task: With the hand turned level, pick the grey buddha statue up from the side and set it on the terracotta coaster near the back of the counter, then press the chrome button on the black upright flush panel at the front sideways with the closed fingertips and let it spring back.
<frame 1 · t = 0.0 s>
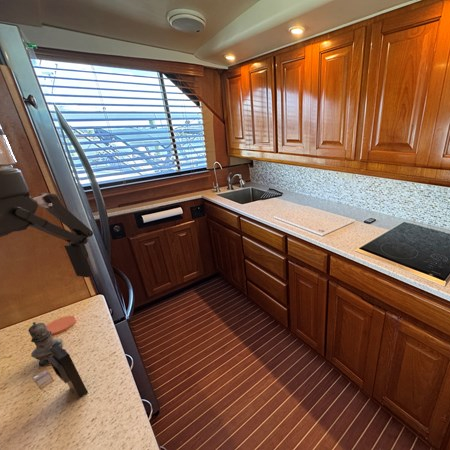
hand: (41, 297, 40), 29 cm above the countertop, tool pointing down, fingers open, 13 cm apart
flush button: (43, 379, 49), point 8 cm above the countertop, slide at 0.1 cm
coaster: (60, 325, 73), on the countertop
grey buddha statue: (53, 358, 63), on the countertop
flush panel: (74, 393, 54), on the countertop
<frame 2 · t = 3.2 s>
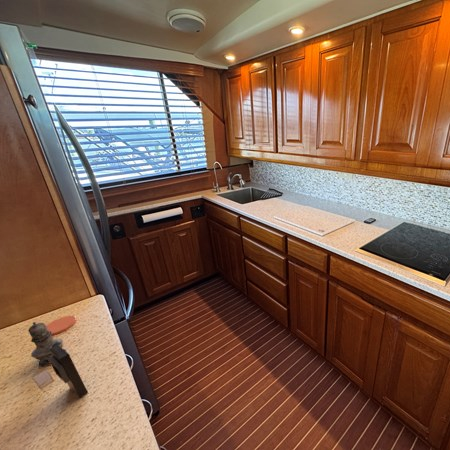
nothing on the countertop moved.
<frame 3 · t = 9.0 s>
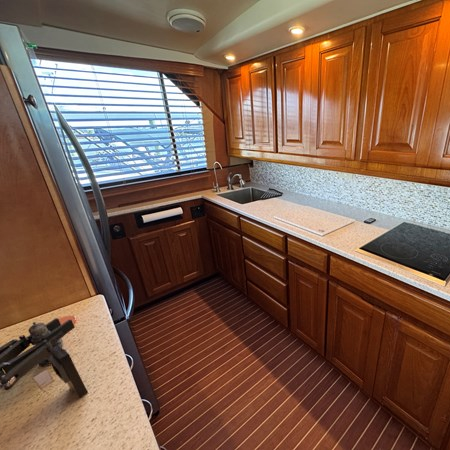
hand: (65, 322, 65), 7 cm above the countertop, tool horizontal, fingers closed on grey buddha statue, 4 cm apart
grey buddha statue: (53, 358, 63), on the countertop, touching gripper
everything else where it was.
when the fingers open (7 cm above the countertop, at t = 15.9 s): grey buddha statue stays where it is, resting on coaster.
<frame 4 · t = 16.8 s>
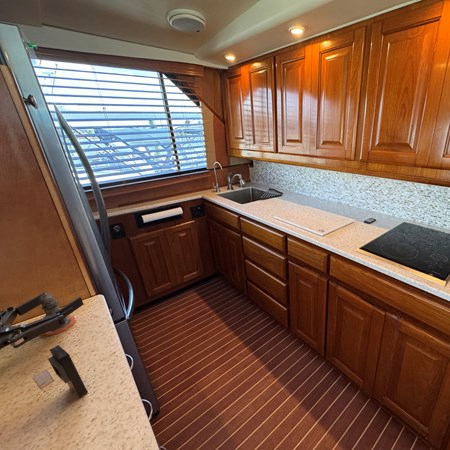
hand: (62, 298, 74), 8 cm above the countertop, tool horizontal, fingers open, 13 cm apart
grey buddha statue: (59, 325, 73), resting on coaster
everything else where it was.
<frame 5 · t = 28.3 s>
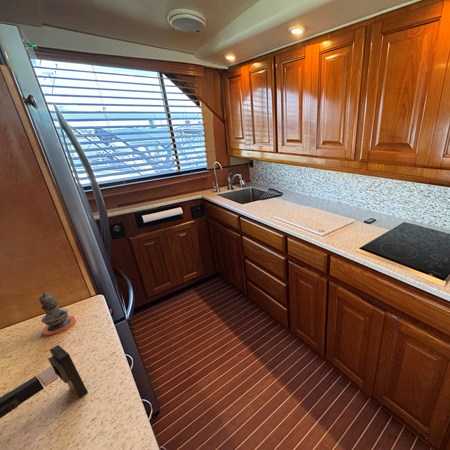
hand: (39, 382, 48), 8 cm above the countertop, tool horizontal, fingers closed
flush button: (47, 376, 49), point 8 cm above the countertop, slide at -0.6 cm, touching gripper
everything else where it was.
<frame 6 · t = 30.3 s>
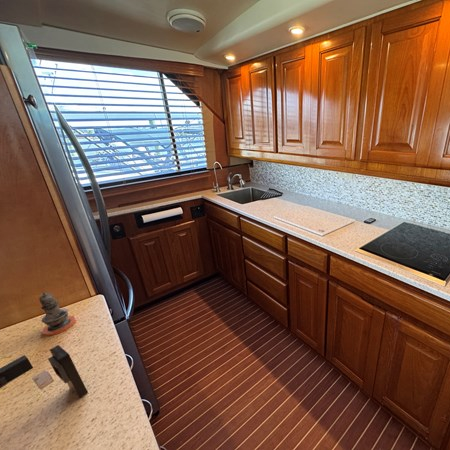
hand: (28, 361, 46), 14 cm above the countertop, tool horizontal, fingers closed
flush button: (43, 379, 49), point 8 cm above the countertop, slide at 0.1 cm
everything else where it was.
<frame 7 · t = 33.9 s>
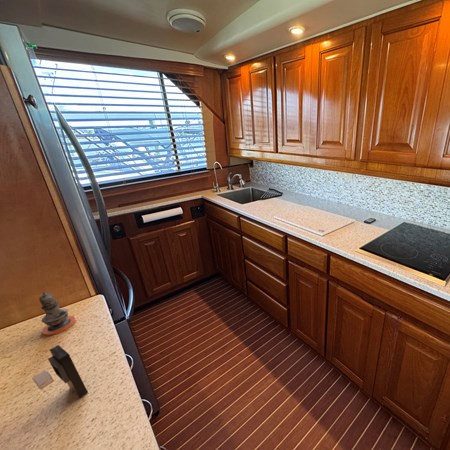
nothing on the countertop moved.
at the end: grey buddha statue 0.1 cm off-centre on the coaster, point 0.4 cm above the coaster's base; flush button pushed in 1.8 cm at the most during the clip, back to where it started at the end; flush button slide at 0.1 cm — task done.
